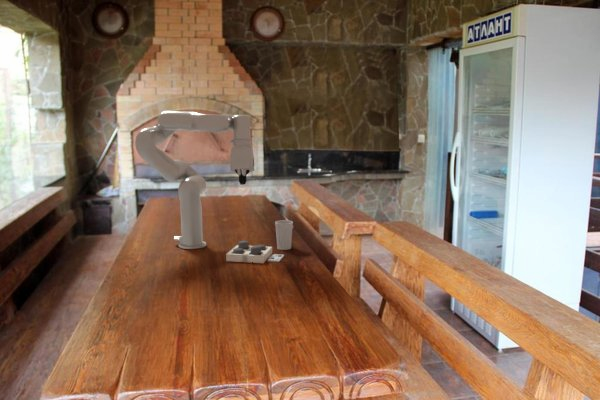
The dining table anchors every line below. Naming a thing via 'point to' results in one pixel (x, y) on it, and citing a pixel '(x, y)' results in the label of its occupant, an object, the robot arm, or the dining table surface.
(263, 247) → the button
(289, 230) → the cup
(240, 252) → the camera button
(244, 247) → the button
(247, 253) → the board
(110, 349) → the dining table surface
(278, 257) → the card
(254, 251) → the button camera
